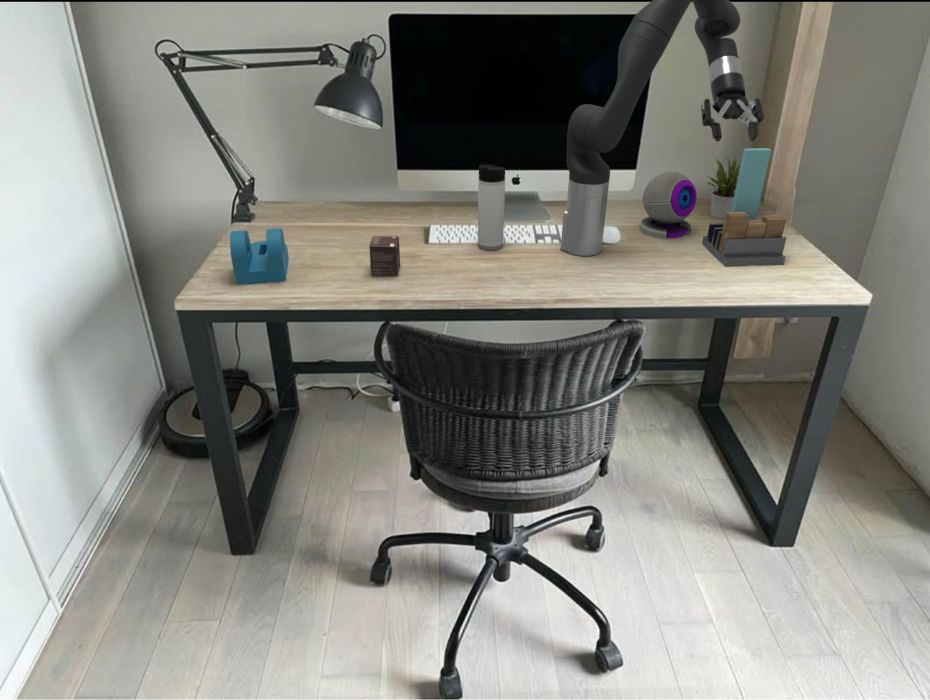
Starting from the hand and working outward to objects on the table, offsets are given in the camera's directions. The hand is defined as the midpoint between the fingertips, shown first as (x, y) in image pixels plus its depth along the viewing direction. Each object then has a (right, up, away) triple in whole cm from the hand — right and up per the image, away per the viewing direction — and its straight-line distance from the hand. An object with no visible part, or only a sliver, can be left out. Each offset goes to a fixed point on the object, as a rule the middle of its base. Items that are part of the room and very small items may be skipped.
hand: (736, 139), depth 165 cm
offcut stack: (+1, -27, -4) cm, 28 cm away
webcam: (-13, -20, +13) cm, 27 cm away
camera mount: (-111, -32, -7) cm, 116 cm away
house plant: (+6, -14, +22) cm, 27 cm away
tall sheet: (+1, -24, +1) cm, 24 cm away
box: (-83, -33, -9) cm, 90 cm away
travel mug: (-59, -25, +4) cm, 64 cm away
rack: (+1, -27, -1) cm, 28 cm away
